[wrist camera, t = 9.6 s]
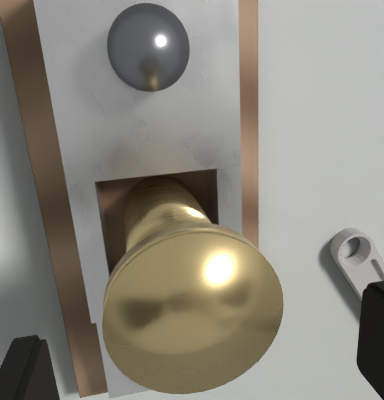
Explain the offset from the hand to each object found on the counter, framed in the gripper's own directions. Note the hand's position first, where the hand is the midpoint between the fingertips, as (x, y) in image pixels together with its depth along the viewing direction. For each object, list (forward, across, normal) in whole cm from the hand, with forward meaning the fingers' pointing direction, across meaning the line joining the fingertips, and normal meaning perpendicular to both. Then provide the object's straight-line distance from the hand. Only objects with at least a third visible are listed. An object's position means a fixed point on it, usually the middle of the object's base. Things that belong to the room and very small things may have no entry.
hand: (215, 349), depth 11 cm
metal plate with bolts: (+11, +1, -1) cm, 11 cm away
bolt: (+11, +1, -1) cm, 11 cm away
